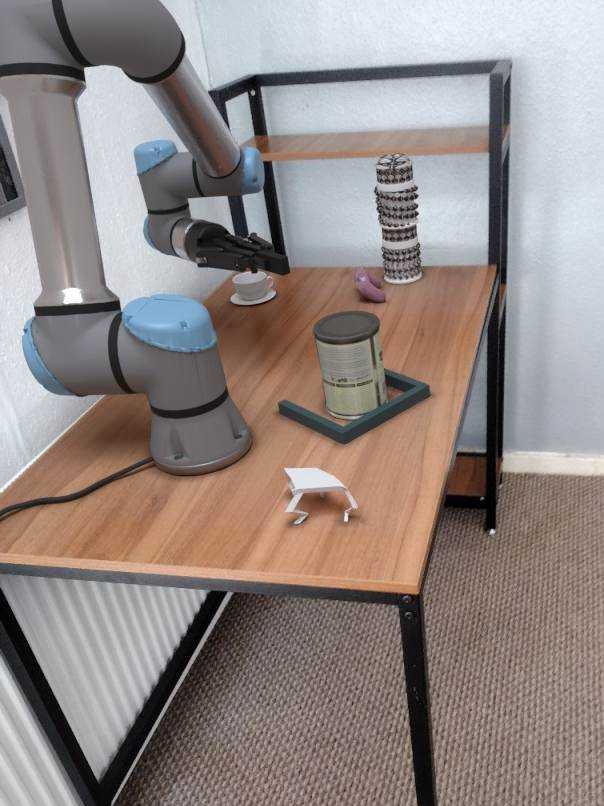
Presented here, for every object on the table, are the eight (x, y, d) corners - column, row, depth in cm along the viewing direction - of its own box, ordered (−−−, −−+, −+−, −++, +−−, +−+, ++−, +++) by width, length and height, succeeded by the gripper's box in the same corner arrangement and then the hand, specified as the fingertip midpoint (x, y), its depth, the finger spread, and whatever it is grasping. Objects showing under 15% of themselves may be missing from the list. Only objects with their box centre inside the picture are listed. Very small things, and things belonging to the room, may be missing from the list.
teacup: (236, 310, 168) (231, 289, 165) (226, 295, 175) (222, 275, 172) (281, 300, 170) (277, 278, 167) (269, 286, 178) (266, 265, 175)
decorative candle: (397, 287, 169) (387, 164, 155) (374, 277, 176) (362, 157, 161) (432, 276, 173) (425, 154, 158) (408, 266, 180) (399, 148, 165)
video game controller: (365, 295, 172) (347, 268, 168) (382, 283, 171) (365, 256, 167) (369, 312, 164) (351, 284, 160) (388, 300, 163) (369, 272, 159)
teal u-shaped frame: (279, 413, 129) (277, 402, 128) (364, 370, 139) (362, 359, 138) (344, 444, 119) (342, 433, 118) (430, 395, 129) (429, 384, 128)
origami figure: (267, 525, 104) (260, 494, 102) (291, 489, 111) (286, 459, 108) (352, 535, 101) (348, 504, 98) (372, 497, 107) (368, 467, 104)
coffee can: (318, 398, 132) (305, 318, 124) (377, 384, 134) (368, 305, 126) (334, 426, 124) (322, 343, 116) (396, 411, 126) (388, 328, 118)
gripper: (237, 253, 145) (320, 276, 130) (177, 274, 138) (256, 302, 124) (229, 211, 141) (313, 230, 126) (166, 231, 134) (247, 254, 119)
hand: (285, 266), depth 125 cm, fingers closed
